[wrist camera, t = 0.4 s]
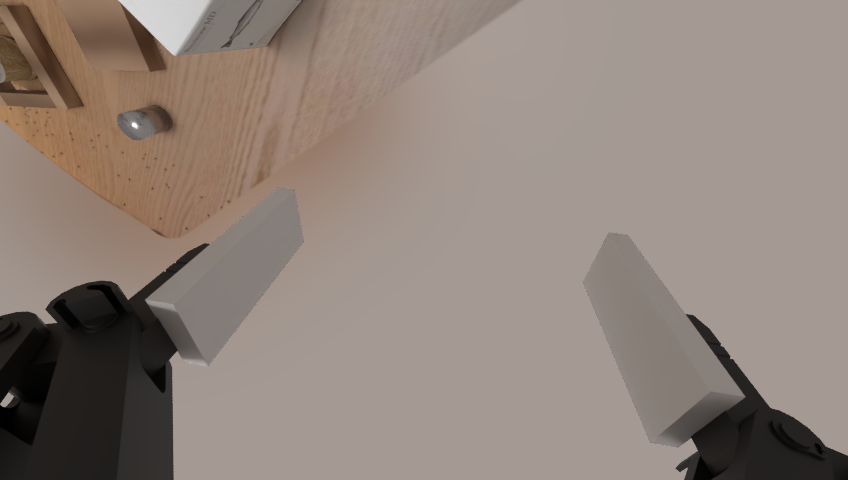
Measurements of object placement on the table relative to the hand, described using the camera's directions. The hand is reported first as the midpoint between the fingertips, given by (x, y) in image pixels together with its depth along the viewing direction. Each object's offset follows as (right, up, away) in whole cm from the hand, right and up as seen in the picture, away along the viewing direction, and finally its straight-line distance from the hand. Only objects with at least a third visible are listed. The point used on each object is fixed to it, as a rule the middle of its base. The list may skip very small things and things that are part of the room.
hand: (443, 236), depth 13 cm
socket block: (-49, +21, +23) cm, 58 cm away
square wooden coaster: (-34, +23, +20) cm, 45 cm away
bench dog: (-34, +15, +25) cm, 45 cm away
